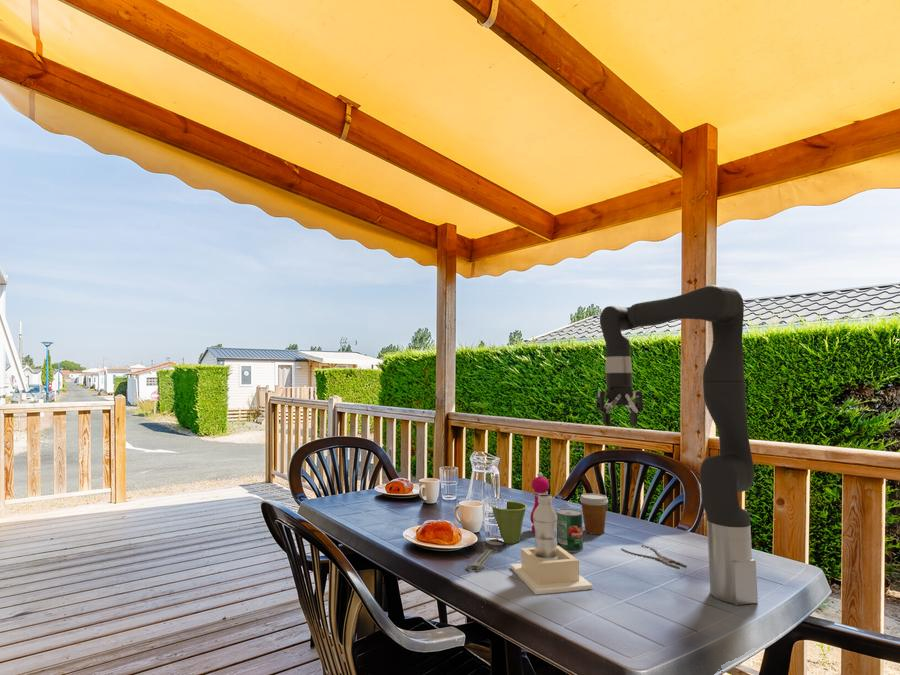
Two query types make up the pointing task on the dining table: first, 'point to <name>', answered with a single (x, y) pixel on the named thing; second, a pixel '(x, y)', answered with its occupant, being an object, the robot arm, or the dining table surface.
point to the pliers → (662, 558)
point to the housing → (550, 572)
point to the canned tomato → (569, 530)
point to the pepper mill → (538, 492)
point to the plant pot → (510, 521)
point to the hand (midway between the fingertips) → (620, 425)
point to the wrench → (482, 559)
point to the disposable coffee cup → (594, 512)
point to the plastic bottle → (545, 529)
